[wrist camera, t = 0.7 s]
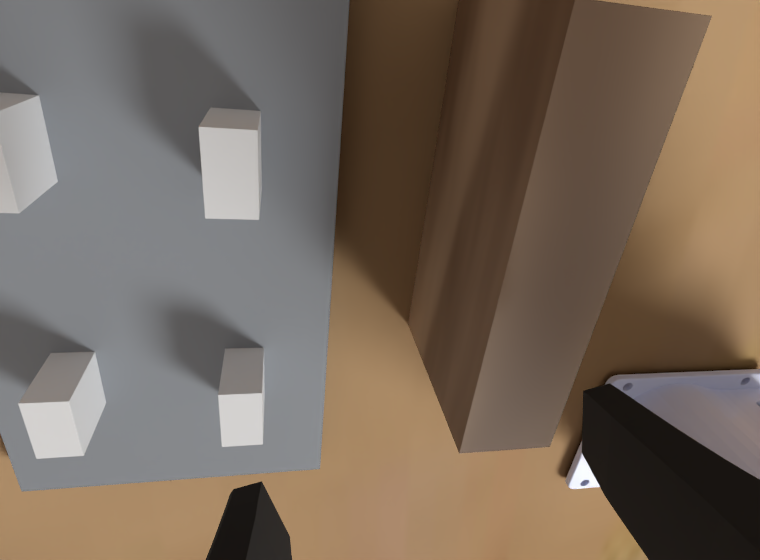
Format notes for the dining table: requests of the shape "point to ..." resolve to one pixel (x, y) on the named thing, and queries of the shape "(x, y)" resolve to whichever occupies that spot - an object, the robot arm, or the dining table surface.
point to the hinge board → (166, 235)
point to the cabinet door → (537, 199)
